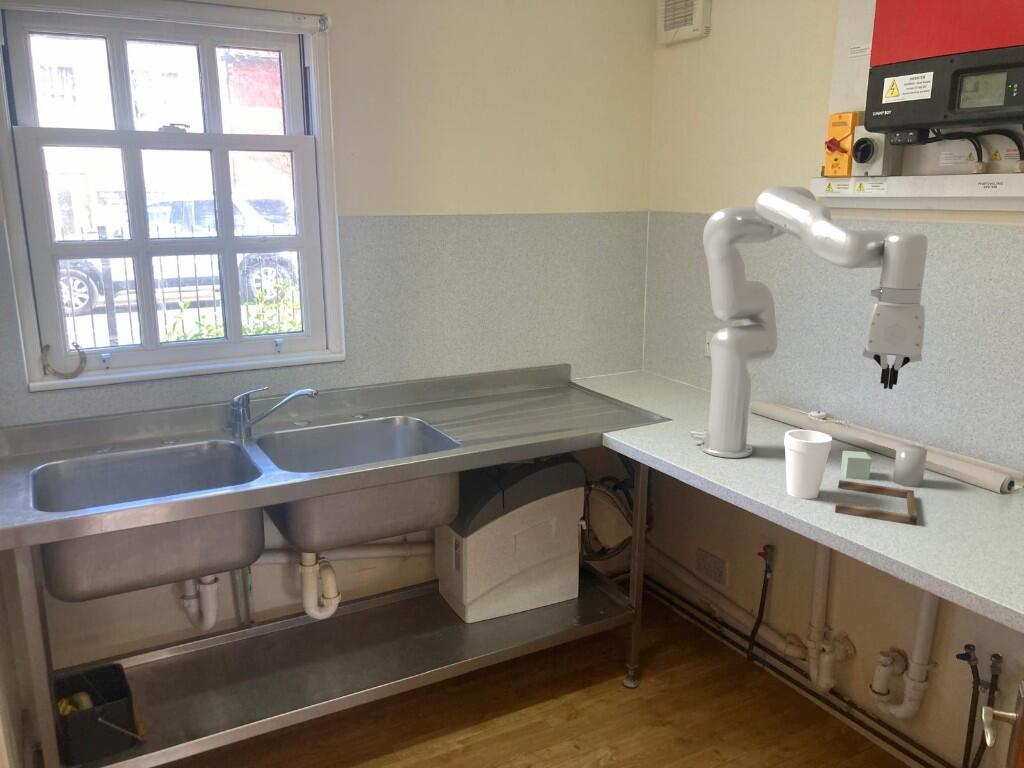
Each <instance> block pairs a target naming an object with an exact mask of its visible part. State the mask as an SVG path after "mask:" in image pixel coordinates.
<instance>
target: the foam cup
mask: <svg viewBox="0 0 1024 768" xmlns="http://www.w3.org/2000/svg"><path fill="white" fill-rule="evenodd" d="M832 441H833V437H832V436H831V435H830V434H826V433H824V432H821V431H818V430H811V429H790V430H789V431H785V434H784V441H783V443H784V444H783V445H784V449H785V450H784V451H785V452H784V453H785V478H786V480H785V481H786V493H787V494H788V495H789V496H792V497H793V498H798V499H805V500H810V499H811V500H812V499H816V498H818V495H819V493H820V490H821V486H822V482H823V477H824V473H825V469H826V466H827V461H828V458H829V454H830V452H831V449H832Z"/></svg>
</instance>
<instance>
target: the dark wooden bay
mask: <svg viewBox="0 0 1024 768" xmlns="http://www.w3.org/2000/svg"><path fill="white" fill-rule="evenodd" d="M837 489H842V490H847V491H848V490H849V491H854V492H855V491H856V492H861V493H862V492H863V493H870V494H875V495H882V496H891V497H896V498H904V499H906V503H907V504H906V505H907V512H908V514H907V513H901V512H893V511H889V510H888V511H887V510H883V509H881V510H880V509H875V508H868V507H862V506H857V505H856V506H855V505H851V504H850V505H849V504H844V503H843V504H842V503H837V502H836V503H835V508H834V512H835V513H837V514H845V515H850V516H857V517H862V518H869V519H876V520H881V521H888V522H895V523H900V524H905V525H906V524H907V525H912V526H917V522H918V513H917V507H916V499H915V491H914V490H911V489H904V488H899V487H898V488H897V487H891V486H883V485H877V484H872V483H871V484H870V483H864V482H857V481H848V480H843V479H839V480H838V485H837Z"/></svg>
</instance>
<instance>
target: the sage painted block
mask: <svg viewBox="0 0 1024 768" xmlns="http://www.w3.org/2000/svg"><path fill="white" fill-rule="evenodd" d="M871 465H872V458H871V457H870V456H869V454H868V453H867V452H866V451H852V450H851V451H850V450H843V451H842V455H841V465H840V466H841V467H840V472H841V473H842V475H843V476H844V478H846V479H855V480H870V474H871Z"/></svg>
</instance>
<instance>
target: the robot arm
mask: <svg viewBox="0 0 1024 768" xmlns="http://www.w3.org/2000/svg"><path fill="white" fill-rule="evenodd" d="M831 219H832V213H831V209H830V208H829V207H828V206H827V205H826V204H824V203H821V202H818V201H817V199H816V196H815V194H814V193H813V192H812V191H811V190H810V189H808V188H805V187H803V186H788V185H787V186H786V185H785V186H784V185H783V186H782V185H779V186H777V185H776V186H771V187H768V188H766V189H764V190H763V191H762V192H761V193H760V194H759V195H757V197H756V200H755V202H754V206H729V207H725V208H721V209H718V210H717V211H715V212H714V213H713V214H711V216H710V217H709V218H708V220H707V222H706V224H705V226H704V228H703V234H702V240H703V248H704V249H703V250H704V254H705V256H706V261H707V262H706V263H707V267H708V277H709V278H708V280H709V287H710V297H711V305H712V306H711V307H712V310H713V311H712V312H713V313H714V315H715V317H716V318H717V319H719V320H721V321H724V322H725V321H726V322H732V321H742V322H743V325H741V324H740V325H733V326H728V327H727V326H726V327H724V328H721V329H719V330H718V331H716V332H715V333H714V334H713V336H712V338H711V339H710V342H709V354H710V361H711V386H710V400H709V401H710V403H709V412H708V413H709V415H708V416H709V417H708V429H707V430H703V431H699V430H695V429H692V430H691V431H690V438H693V439H692V440H696V441H701V443H700V449H701V451H703V452H704V453H706V454H709V455H711V456H714V457H720V458H727V459H728V458H729V459H730V458H731V459H739V458H745V457H749V456H751V455H752V454H753V447H752V446H751V445H750V444H748V443H747V440H748V429H749V428H748V427H749V416H750V404H751V394H752V379H751V376H750V372H749V370H748V367H747V365H749V364H755V363H761V362H765V361H768V360H769V359H771V358H772V357H773V356H774V355H775V353H776V352H777V348H778V330H777V329H778V328H777V318H776V311H775V302H774V296H773V293H772V292H771V290H770V288H769V287H768V286H767V285H766V284H765V283H763V282H761V281H760V280H759V281H758V280H747V276H746V267H745V266H746V265H745V261H744V258H743V256H742V255H741V252H740V251H739V250H738V248H737V247H736V245H737V244H752V243H753V244H754V243H756V244H760V243H761V244H762V243H766V242H770V241H773V240H775V239H777V238H779V237H782V236H783V235H785V234H788V235H790V236H792V237H795V238H796V239H798V240H800V241H803V244H804V246H805V247H806V248H807V249H808V251H809V252H810V253H811V254H813V255H815V256H816V257H818V258H820V259H822V260H824V261H826V262H828V263H830V264H832V265H834V266H837V267H839V268H842V269H848V270H852V269H853V270H854V269H857V270H858V269H873V268H874V269H875V268H881V273H880V279H879V287H878V288H875V289H870V297H873V298H876V299H877V301H874V302H873V303H872V306H871V310H870V313H869V317H868V323H867V329H866V335H865V343H864V344H865V346H864V349H863V350H862V351H863V352H862V356H863V357H865V358H868V359H871V360H874V361H875V362H876V363H877V364H878V365H879V366H880V368H881V374H880V382H879V383H880V385H883V389H884V390H886V389H889V390H893V388H894V386H897V385H898V377H899V371H900V370H901V369H903V368H904V366H906V365H907V364H909V363H917V362H921V361H922V360H923V355H922V351H923V345H924V336H925V323H926V321H925V319H926V316H925V315H926V314H925V305H923V304H921V299H922V291H923V283H924V276H925V268H926V260H927V254H928V253H927V252H928V246H929V240H928V236H926V235H925V234H923V233H919V232H893V231H887V230H880V229H879V230H878V229H875V230H874V229H873V230H872V229H871V230H870V229H869V230H868V229H866V230H865V229H864V230H862V229H858V230H852V229H848V228H846V227H844V226H842V225H839V224H837V223H835V222H833V221H831ZM888 356H895V359H894V363H893V364H892V365H891V367H890V364H889V363H888Z"/></svg>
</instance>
